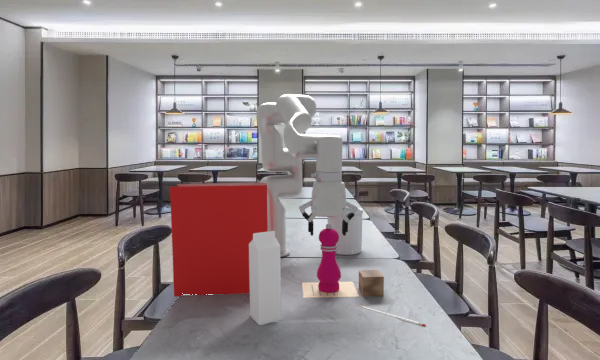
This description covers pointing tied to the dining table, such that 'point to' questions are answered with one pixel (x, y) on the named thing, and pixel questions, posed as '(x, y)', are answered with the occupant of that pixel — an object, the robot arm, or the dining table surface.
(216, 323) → the dining table surface
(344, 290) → the letter
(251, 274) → the milk
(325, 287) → the pepper mill
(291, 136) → the robot arm
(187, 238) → the book
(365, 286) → the block
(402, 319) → the pencil
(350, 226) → the utensil holder
